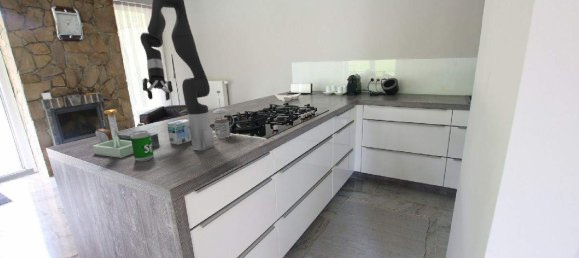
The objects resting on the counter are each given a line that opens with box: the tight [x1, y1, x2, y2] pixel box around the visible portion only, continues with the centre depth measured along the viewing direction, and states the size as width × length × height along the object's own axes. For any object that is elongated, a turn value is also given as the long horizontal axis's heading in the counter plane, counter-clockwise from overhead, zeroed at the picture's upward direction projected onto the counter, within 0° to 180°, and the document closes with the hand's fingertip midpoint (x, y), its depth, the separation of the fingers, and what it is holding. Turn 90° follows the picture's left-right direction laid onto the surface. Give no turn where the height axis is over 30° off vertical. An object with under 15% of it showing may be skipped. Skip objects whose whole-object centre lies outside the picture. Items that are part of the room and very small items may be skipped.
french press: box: [212, 90, 235, 139], centre depth 149 cm, size 10×12×25 cm
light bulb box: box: [166, 118, 191, 145], centre depth 144 cm, size 11×7×11 cm, turn 150°
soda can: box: [130, 130, 155, 162], centre depth 119 cm, size 8×8×12 cm
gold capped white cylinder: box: [104, 109, 121, 148], centre depth 129 cm, size 5×5×19 cm
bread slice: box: [94, 127, 113, 144], centre depth 143 cm, size 15×3×8 cm, turn 57°
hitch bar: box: [118, 130, 160, 148], centre depth 140 cm, size 22×7×6 cm, turn 68°
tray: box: [92, 140, 134, 159], centre depth 131 cm, size 18×11×4 cm, turn 68°
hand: (159, 99), depth 141 cm, fingers open, 8 cm apart
